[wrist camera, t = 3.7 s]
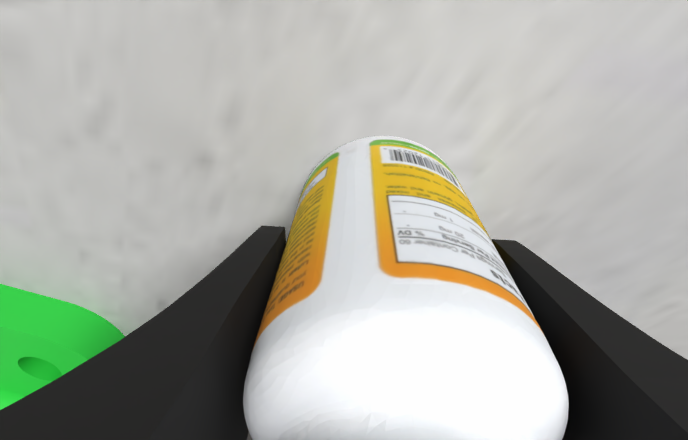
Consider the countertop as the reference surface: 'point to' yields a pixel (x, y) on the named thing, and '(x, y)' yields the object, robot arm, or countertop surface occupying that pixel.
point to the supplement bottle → (397, 315)
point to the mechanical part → (45, 340)
